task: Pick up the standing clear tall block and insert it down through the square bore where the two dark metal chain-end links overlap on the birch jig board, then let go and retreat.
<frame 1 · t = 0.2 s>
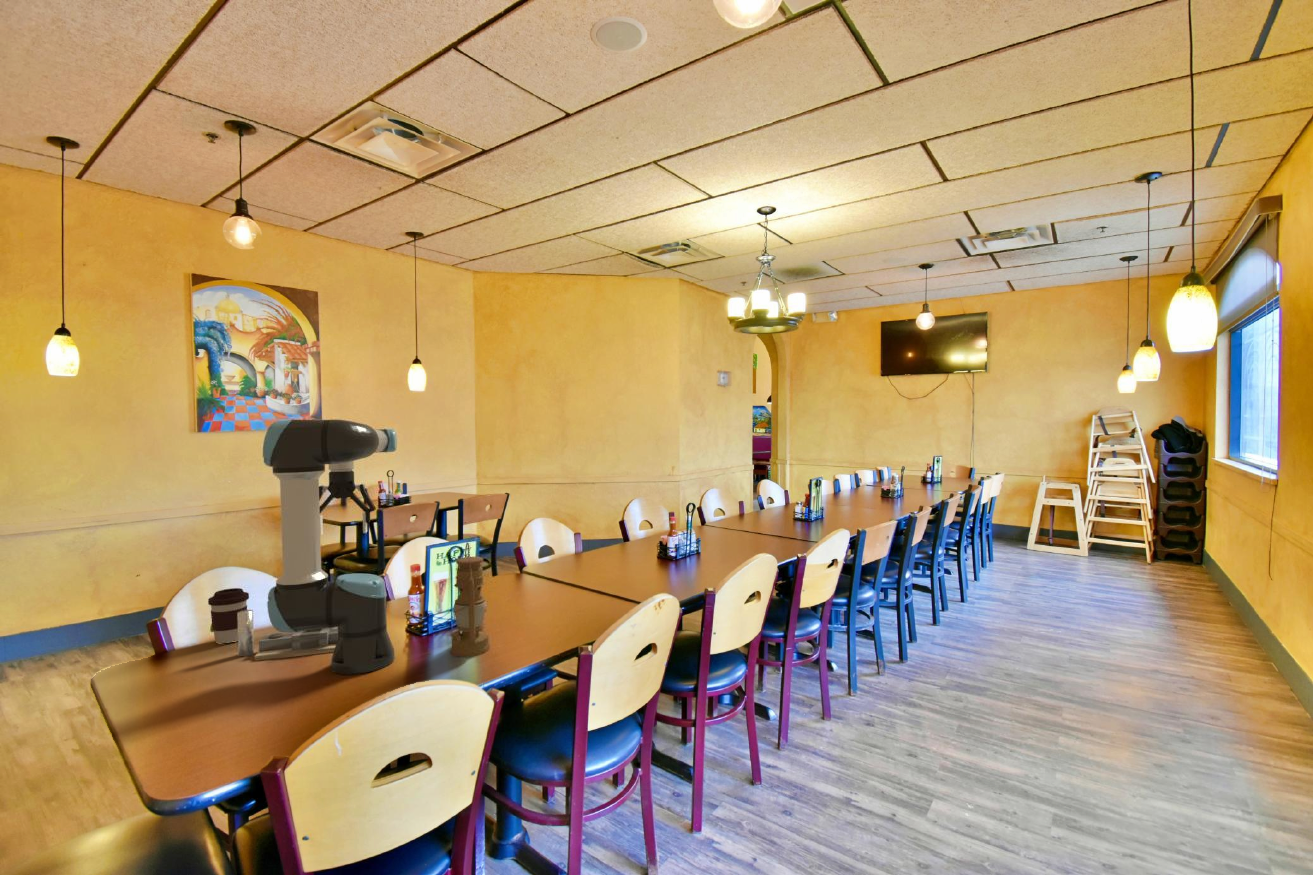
hand: (343, 533, 203), 28 cm above the table, fingers open, 13 cm apart
chain bed: (314, 647, 174), on the table
lantern: (470, 650, 169), on the table
coffee cup: (230, 641, 181), on the table
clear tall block: (246, 654, 169), on the table
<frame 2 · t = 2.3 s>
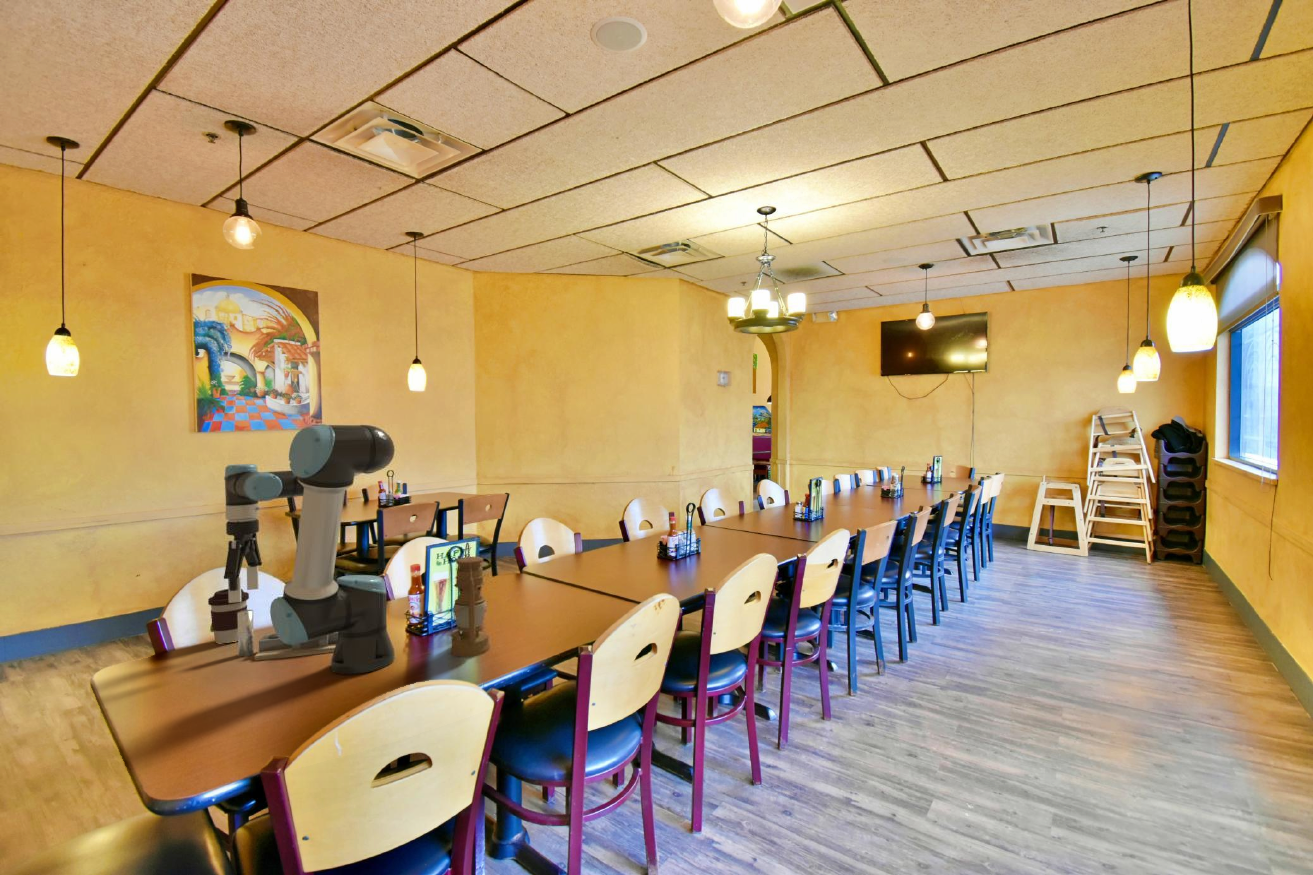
hand: (244, 595, 169), 16 cm above the table, fingers open, 13 cm apart
nothing on the table moved.
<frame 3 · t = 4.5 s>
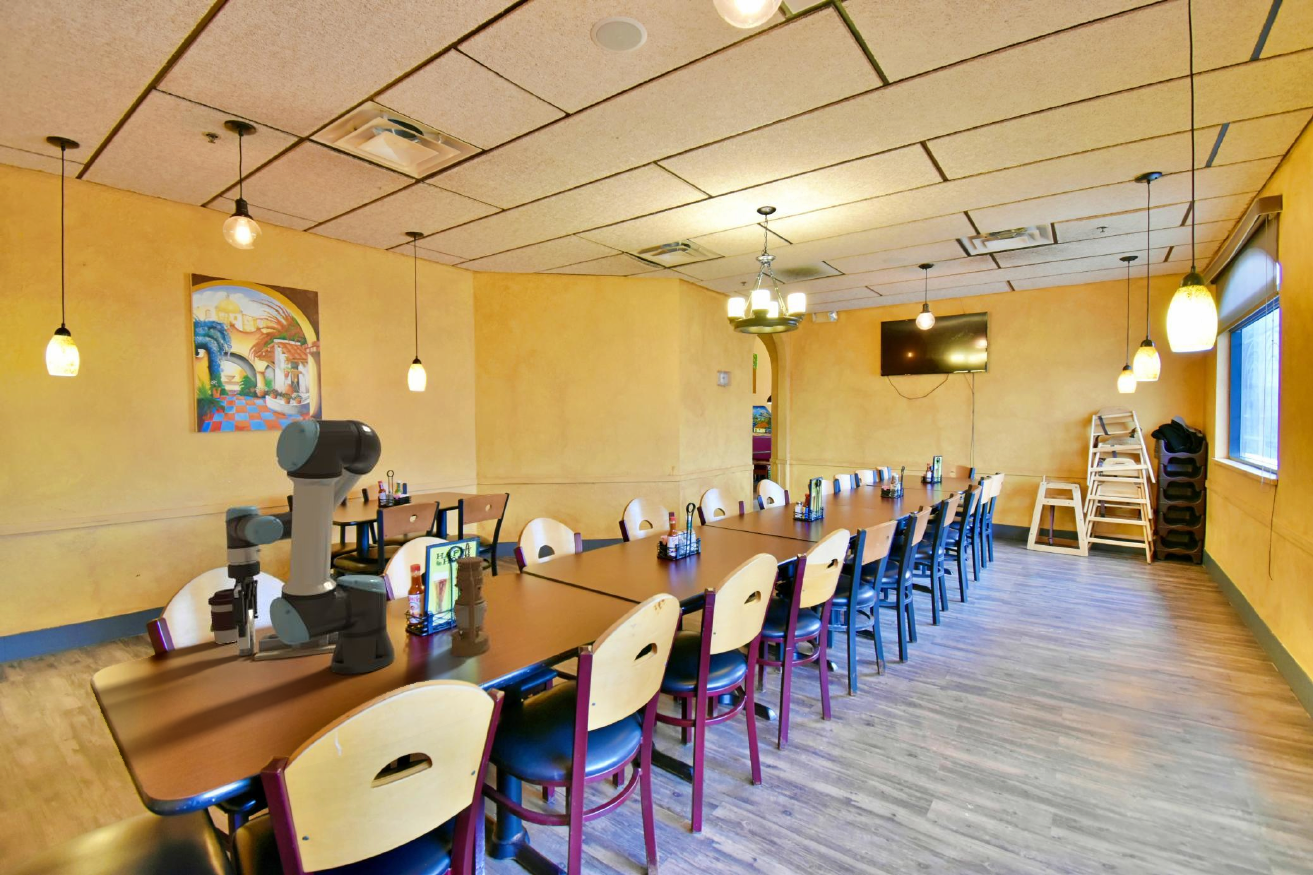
hand: (246, 645, 169), 3 cm above the table, fingers closed on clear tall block, 3 cm apart
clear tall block: (246, 653, 169), on the table, touching gripper
everything else where it was.
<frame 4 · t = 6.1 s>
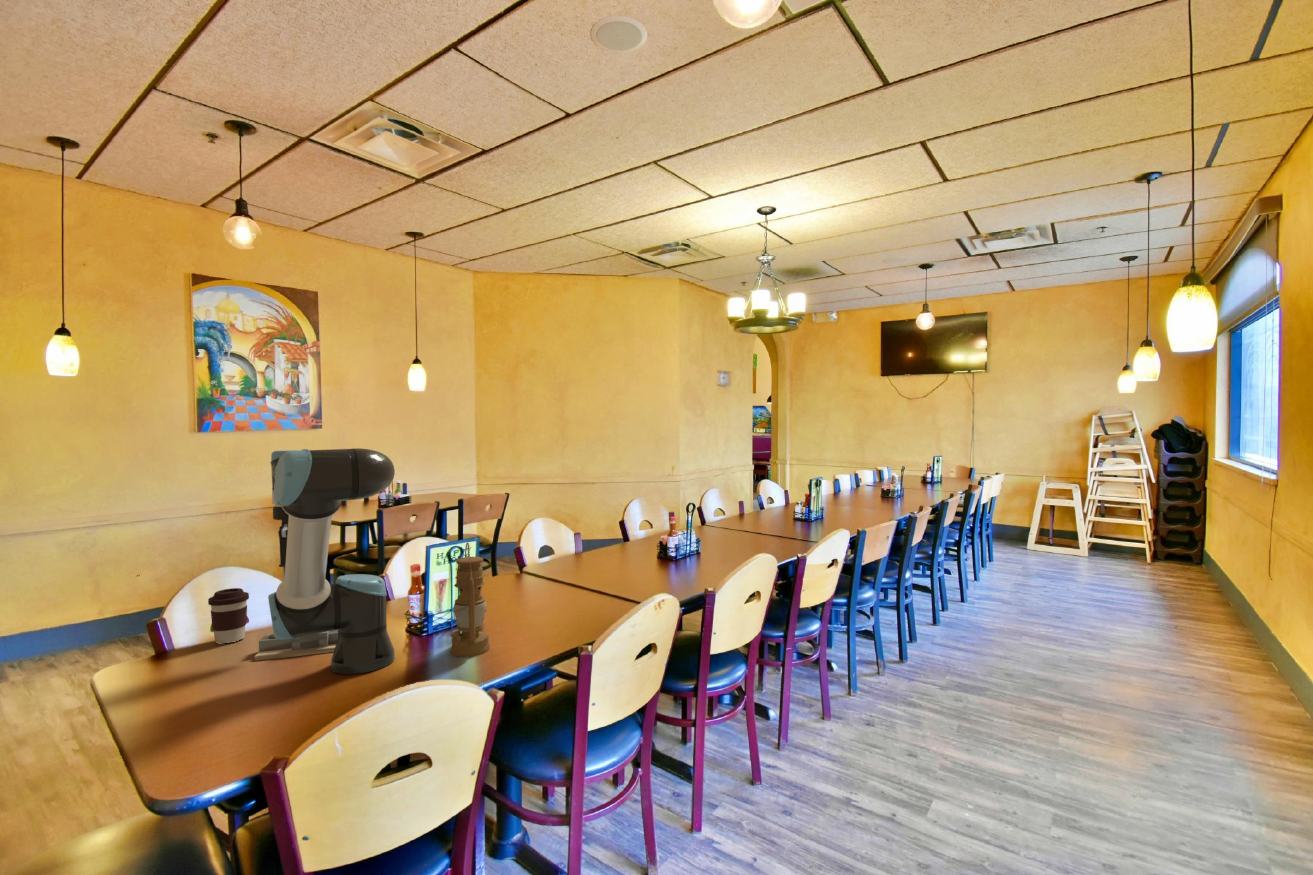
hand: (290, 587, 171), 18 cm above the table, fingers closed on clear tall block, 3 cm apart
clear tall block: (291, 595, 171), point 16 cm above the table, touching gripper
everything else where it was.
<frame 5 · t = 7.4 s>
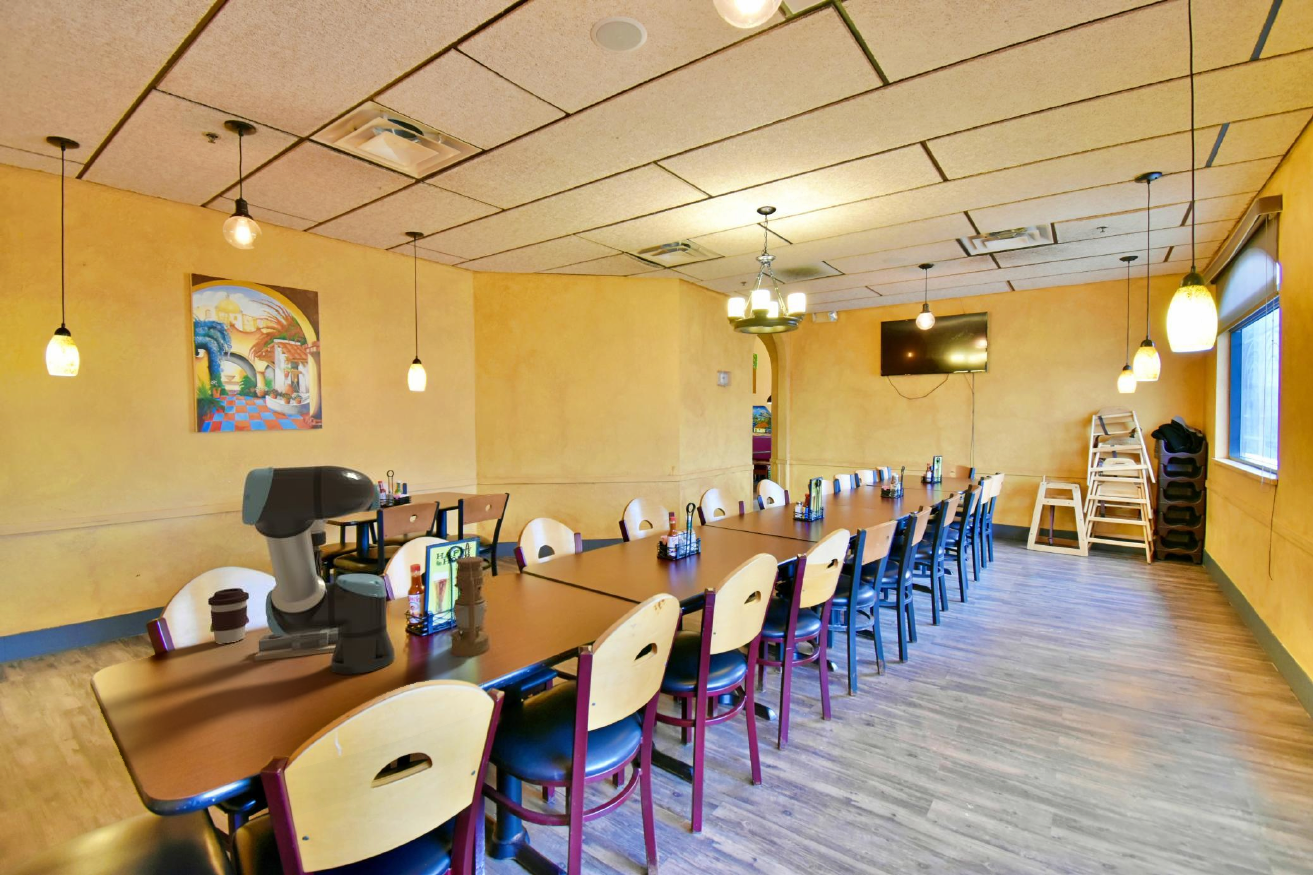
hand: (313, 613, 174), 10 cm above the table, fingers closed on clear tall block, 3 cm apart
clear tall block: (313, 620, 174), point 8 cm above the table, touching gripper
everything else where it was.
when the fingers open (6 cm above the table, at t = 8.4 s): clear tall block drops 2 cm, resting on chain bed.
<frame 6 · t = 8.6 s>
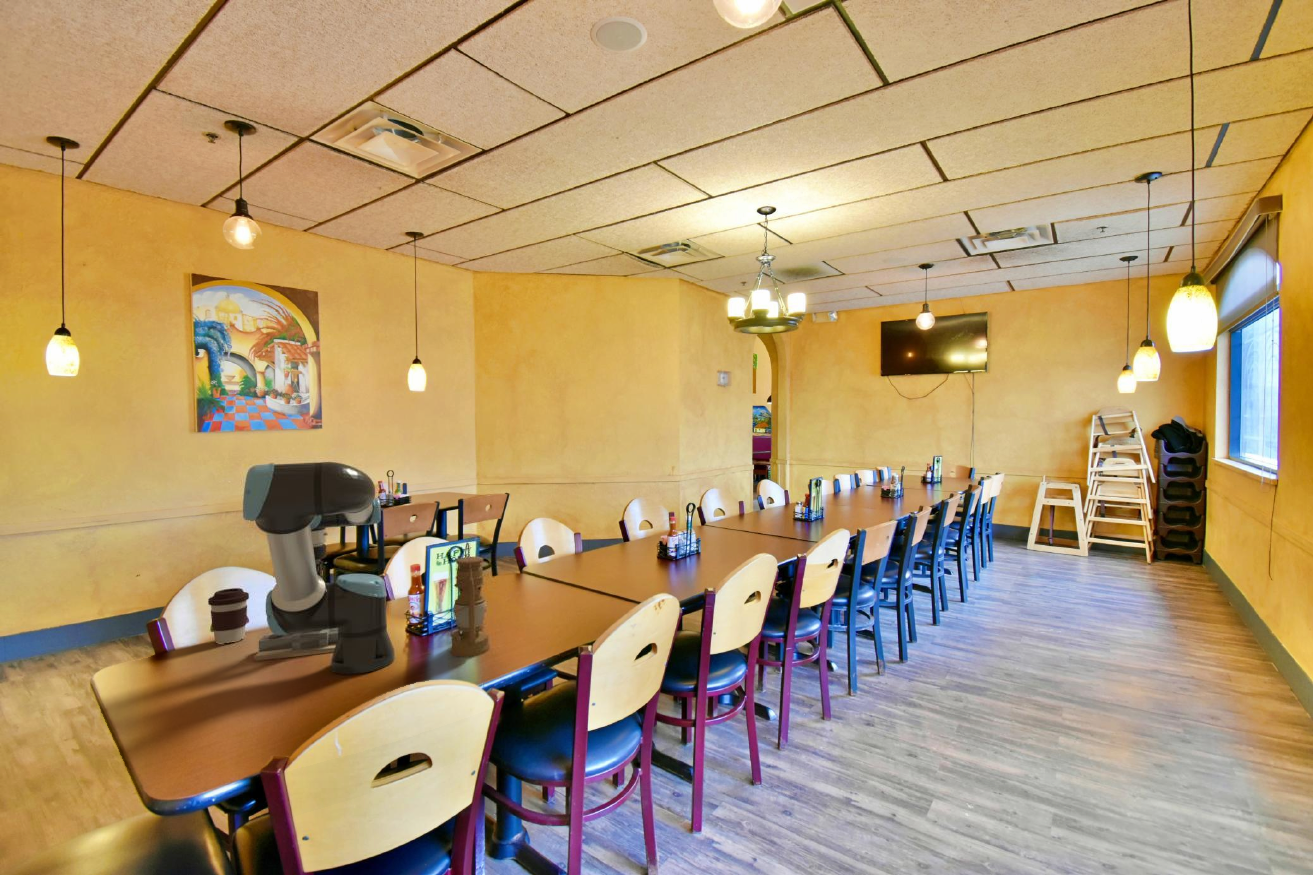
hand: (313, 624, 173), 6 cm above the table, fingers open, 7 cm apart
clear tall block: (314, 643, 174), point 1 cm above the table, touching chain bed
everything else where it was.
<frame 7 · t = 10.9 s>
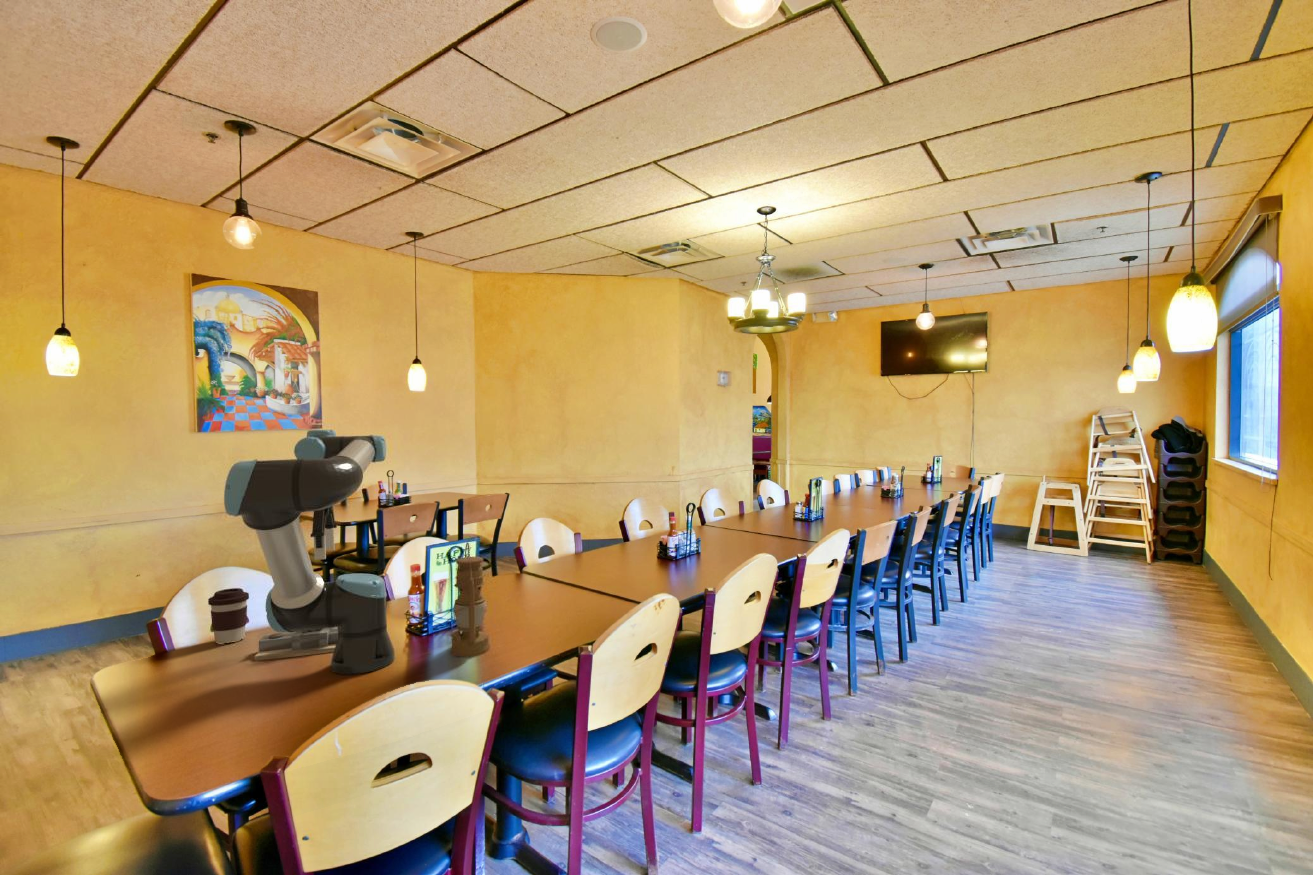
hand: (324, 554, 178), 26 cm above the table, fingers open, 13 cm apart
nothing on the table moved.
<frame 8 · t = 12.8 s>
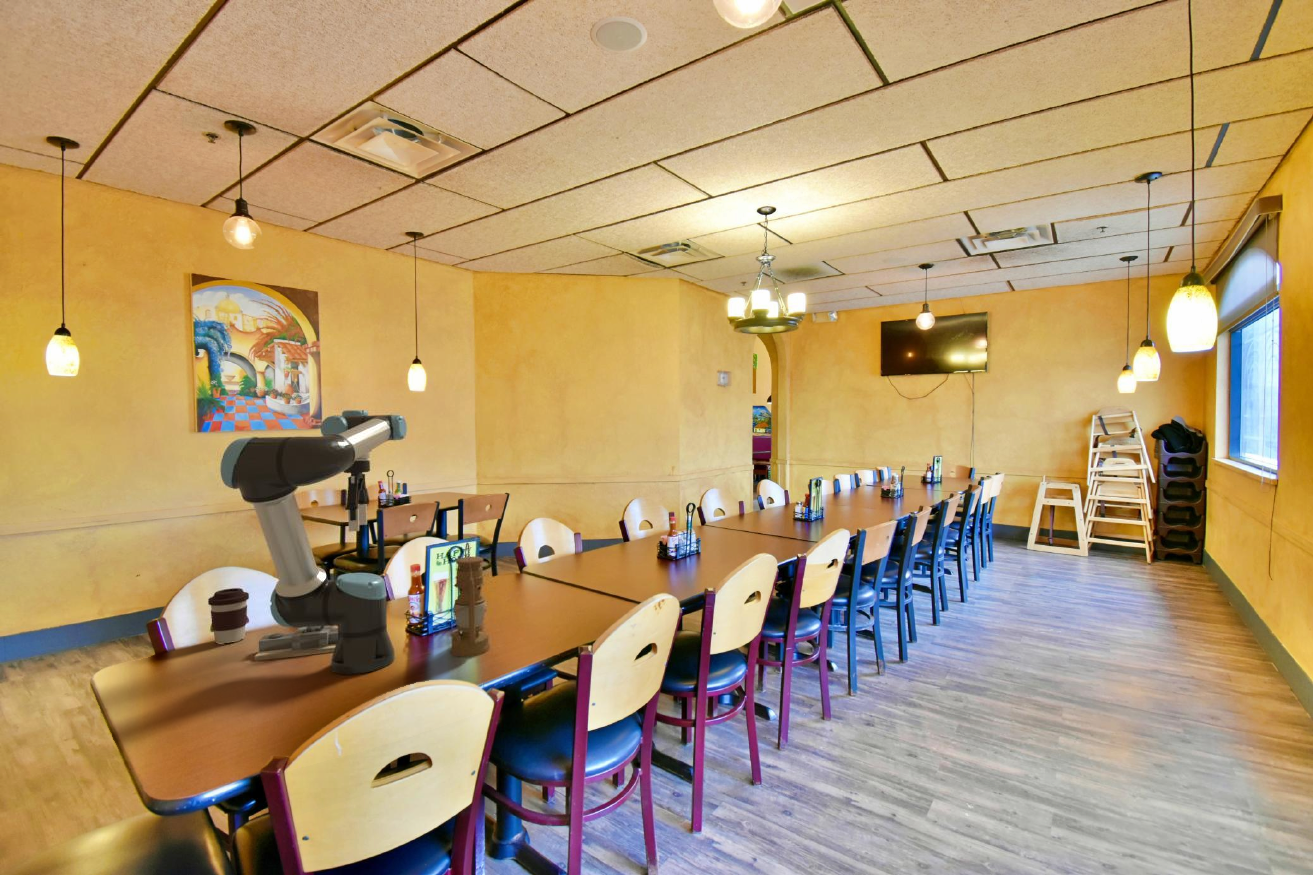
hand: (358, 527, 189), 32 cm above the table, fingers open, 13 cm apart
nothing on the table moved.
at the end: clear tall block 0.1 cm off-centre on the chain bed, point 1.2 cm above the chain bed's base; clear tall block tilted 0°; the gripper is holding nothing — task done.
